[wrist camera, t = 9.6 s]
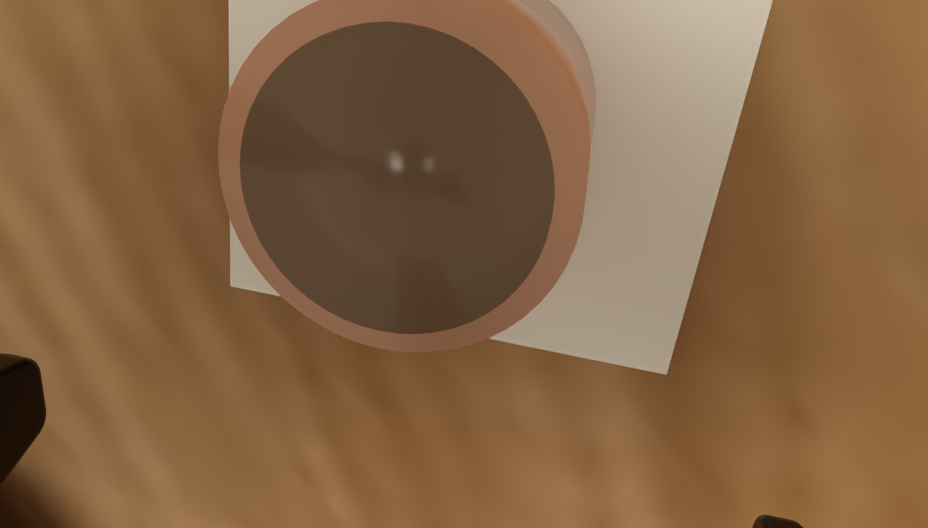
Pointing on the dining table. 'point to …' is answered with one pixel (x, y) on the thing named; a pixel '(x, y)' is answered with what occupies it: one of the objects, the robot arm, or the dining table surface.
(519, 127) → the terracotta pot
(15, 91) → the dining table surface
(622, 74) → the potting mat
